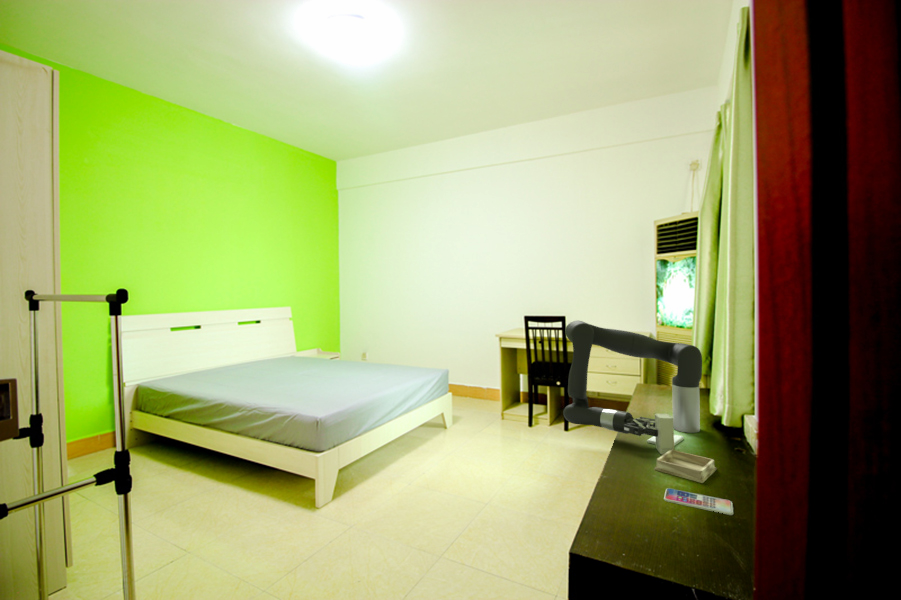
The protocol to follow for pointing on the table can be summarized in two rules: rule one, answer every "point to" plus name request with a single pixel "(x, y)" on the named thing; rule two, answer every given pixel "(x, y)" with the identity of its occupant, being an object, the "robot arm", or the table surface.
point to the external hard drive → (676, 439)
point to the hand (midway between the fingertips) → (662, 430)
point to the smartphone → (699, 501)
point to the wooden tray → (686, 465)
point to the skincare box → (664, 433)
